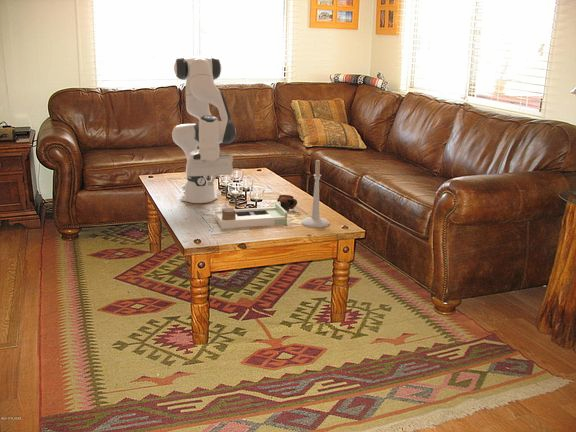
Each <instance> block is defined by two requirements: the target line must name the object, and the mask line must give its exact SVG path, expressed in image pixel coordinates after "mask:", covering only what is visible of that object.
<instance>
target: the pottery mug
mask: <svg viewBox="0 0 576 432" xmlns="http://www.w3.org/2000/svg"><path fill="white" fill-rule="evenodd" d="M276 201H277V202H276V203H278V202H279V203H280V204H279V205H280V206H281V207H282V208H283V209H284V210H285V211H286V212H289V211H290V210H294V208H295V207H296V206H297V205H298V200H297V199H296V198H294V196H292V195H290V194H280V195H278V198H277V199H276Z"/></svg>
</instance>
